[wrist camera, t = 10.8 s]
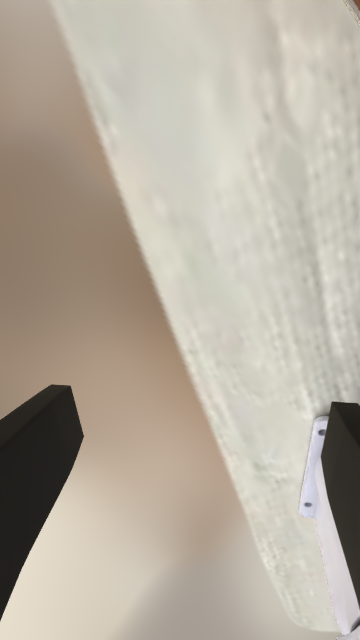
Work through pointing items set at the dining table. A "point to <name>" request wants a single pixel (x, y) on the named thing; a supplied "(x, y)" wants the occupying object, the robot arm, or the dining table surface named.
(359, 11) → the food container
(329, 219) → the dining table surface
